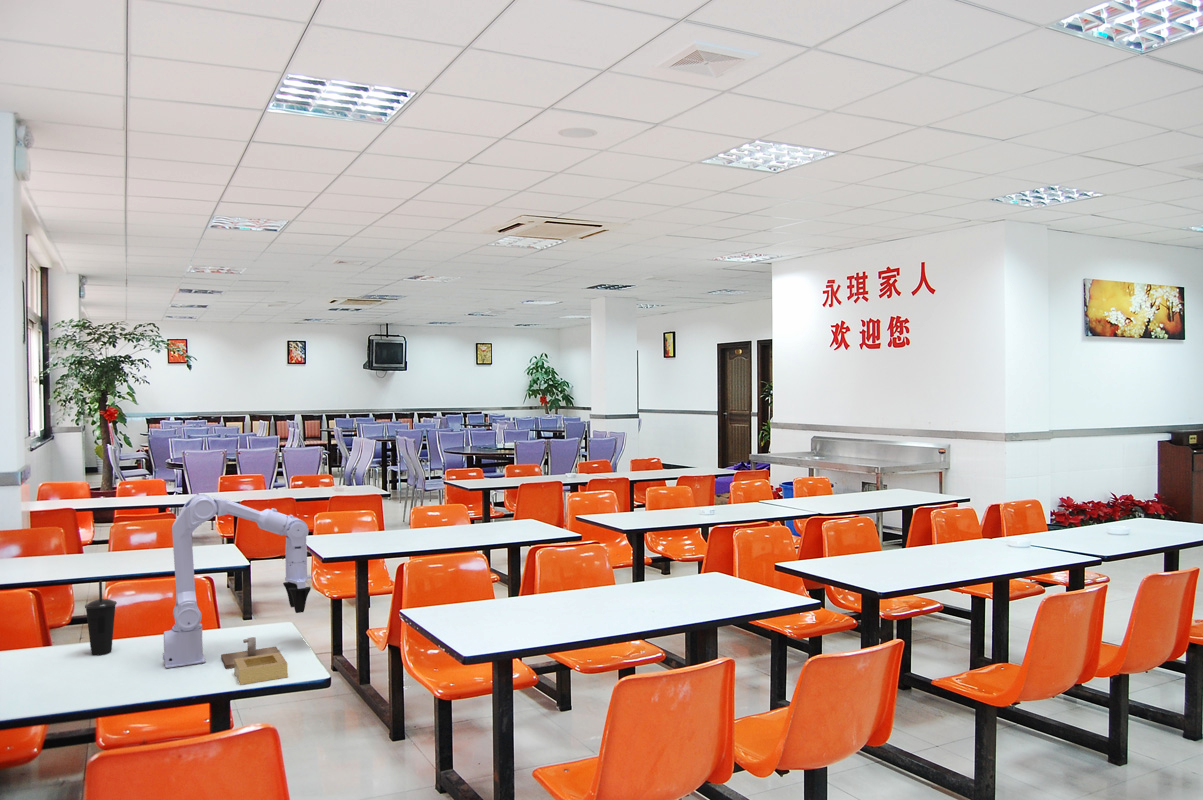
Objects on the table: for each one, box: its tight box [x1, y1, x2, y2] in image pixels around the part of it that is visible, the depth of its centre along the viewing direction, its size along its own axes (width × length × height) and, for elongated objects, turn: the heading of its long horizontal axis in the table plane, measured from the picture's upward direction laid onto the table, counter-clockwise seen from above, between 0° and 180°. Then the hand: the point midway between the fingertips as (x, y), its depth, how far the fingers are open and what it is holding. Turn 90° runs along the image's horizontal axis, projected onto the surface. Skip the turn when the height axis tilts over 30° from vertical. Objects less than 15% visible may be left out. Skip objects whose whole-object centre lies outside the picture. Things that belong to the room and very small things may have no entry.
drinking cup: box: [84, 580, 118, 657], centre depth 240 cm, size 8×8×20 cm
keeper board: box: [220, 636, 283, 670], centre depth 232 cm, size 14×11×6 cm
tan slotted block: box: [233, 652, 288, 686], centre depth 218 cm, size 11×11×4 cm
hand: (297, 609), depth 244 cm, fingers open, 7 cm apart
